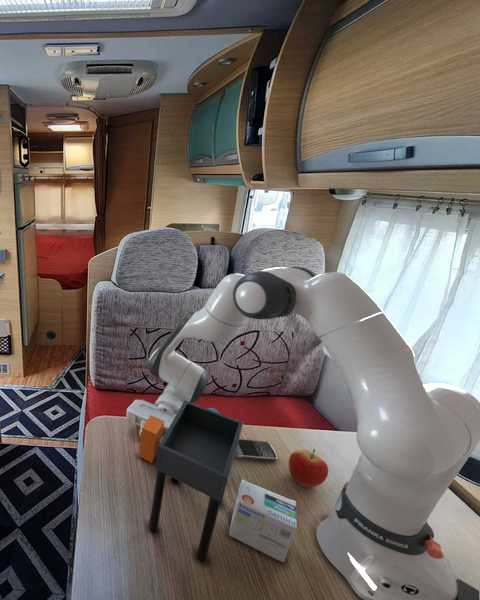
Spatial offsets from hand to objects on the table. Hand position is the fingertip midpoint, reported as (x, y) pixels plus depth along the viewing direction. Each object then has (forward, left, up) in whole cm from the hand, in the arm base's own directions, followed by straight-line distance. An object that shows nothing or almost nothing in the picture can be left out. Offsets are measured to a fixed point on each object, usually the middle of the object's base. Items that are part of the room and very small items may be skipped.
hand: (150, 439), depth 89 cm
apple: (-36, -15, -6) cm, 39 cm away
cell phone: (-24, -18, -6) cm, 30 cm away
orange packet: (0, -1, -5) cm, 6 cm away
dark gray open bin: (-14, +11, +12) cm, 22 cm away
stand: (-14, +11, -6) cm, 19 cm away
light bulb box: (-28, +7, -6) cm, 29 cm away
